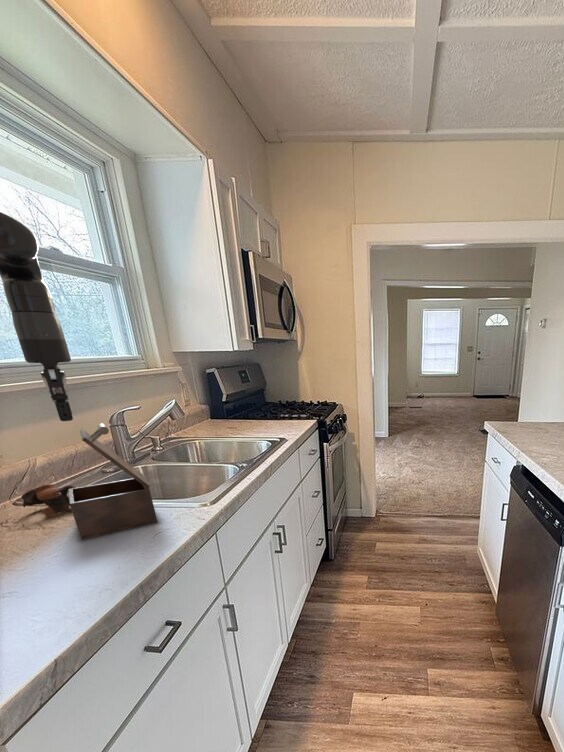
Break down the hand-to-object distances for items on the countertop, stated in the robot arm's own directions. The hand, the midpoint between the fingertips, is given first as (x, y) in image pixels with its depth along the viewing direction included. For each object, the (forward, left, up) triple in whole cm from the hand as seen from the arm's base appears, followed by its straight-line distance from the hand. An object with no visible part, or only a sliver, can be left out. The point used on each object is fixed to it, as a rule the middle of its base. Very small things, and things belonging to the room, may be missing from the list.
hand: (66, 418), depth 88 cm
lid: (+6, -2, -10) cm, 12 cm away
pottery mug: (-2, +22, -26) cm, 34 cm away
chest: (+4, -1, -26) cm, 26 cm away
